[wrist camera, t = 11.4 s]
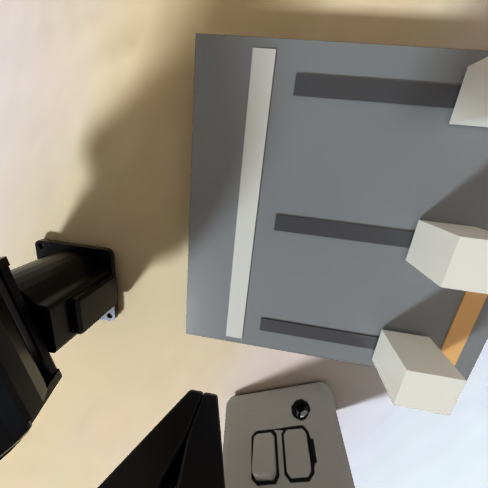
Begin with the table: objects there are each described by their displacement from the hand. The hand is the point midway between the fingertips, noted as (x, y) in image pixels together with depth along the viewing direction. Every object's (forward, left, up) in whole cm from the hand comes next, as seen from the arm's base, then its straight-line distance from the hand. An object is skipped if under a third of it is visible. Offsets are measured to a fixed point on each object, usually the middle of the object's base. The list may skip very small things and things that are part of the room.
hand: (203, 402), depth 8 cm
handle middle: (+11, +3, -10) cm, 15 cm away
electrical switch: (+5, -14, -12) cm, 19 cm away
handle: (+11, -4, -10) cm, 15 cm away
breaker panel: (+6, +3, -12) cm, 14 cm away
